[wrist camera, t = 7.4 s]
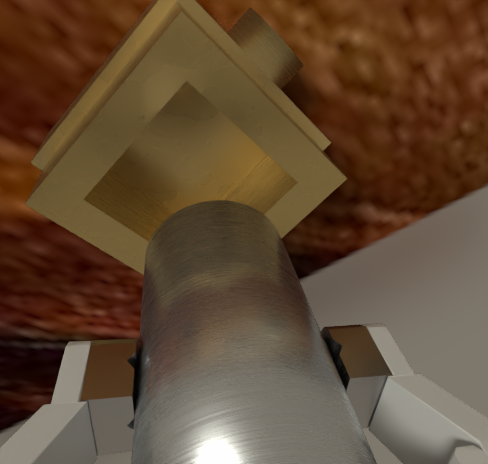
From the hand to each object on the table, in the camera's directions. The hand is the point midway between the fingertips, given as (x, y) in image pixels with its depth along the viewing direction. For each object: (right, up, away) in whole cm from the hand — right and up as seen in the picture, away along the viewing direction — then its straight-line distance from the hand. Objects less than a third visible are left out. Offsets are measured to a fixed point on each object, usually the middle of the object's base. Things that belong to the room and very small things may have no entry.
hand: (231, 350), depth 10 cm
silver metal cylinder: (-1, +2, +3) cm, 4 cm away
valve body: (-3, +9, +13) cm, 16 cm away
